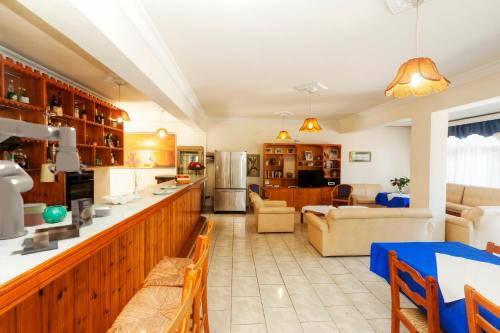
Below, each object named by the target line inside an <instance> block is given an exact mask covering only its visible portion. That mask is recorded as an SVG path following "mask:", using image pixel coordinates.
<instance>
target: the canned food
mask: <svg viewBox="0 0 500 333" xmlns="http://www.w3.org/2000/svg"><path fill="white" fill-rule="evenodd" d="M45 208H46V209H47V203H43V202H40V203H39V202H38V203H30V204H28V203H27V204H23V209H24V228H25V227H27V228H28V227H31V228H32V227H38V225H39V226H43V225H45V221H44V219H43V217H42V213H43V212H44V209H45ZM42 224H43V225H42Z"/></svg>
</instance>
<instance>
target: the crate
mask: <svg viewBox="0 0 500 333" xmlns="http://www.w3.org/2000/svg"><path fill="white" fill-rule="evenodd" d="M42 232H48V242H52V241H62V240H68V239H74V238H80V237H81V236H80V228H79V226H78V223H77V224H72V223H71V224H63V225H57V226H56V225H55V226H50V227H42V228H35V231H34V234H35V233H42Z"/></svg>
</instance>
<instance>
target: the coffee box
mask: <svg viewBox="0 0 500 333" xmlns="http://www.w3.org/2000/svg"><path fill="white" fill-rule="evenodd" d="M93 220H94V218H93V198H91V197H90V198H87V197H85V198H78V199H73V200H71V224H77V223H78V226H79V229H81V228H84V227H87V226H90V225H93V223H94V222H93Z"/></svg>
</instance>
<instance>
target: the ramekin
mask: <svg viewBox="0 0 500 333" xmlns="http://www.w3.org/2000/svg"><path fill="white" fill-rule="evenodd" d="M93 210H94V214H95V216H96V217H98V218H102V217H109V216H111V215H112V212H113V206H100V207H99V206H98V207H95V208H94V209H93Z"/></svg>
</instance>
